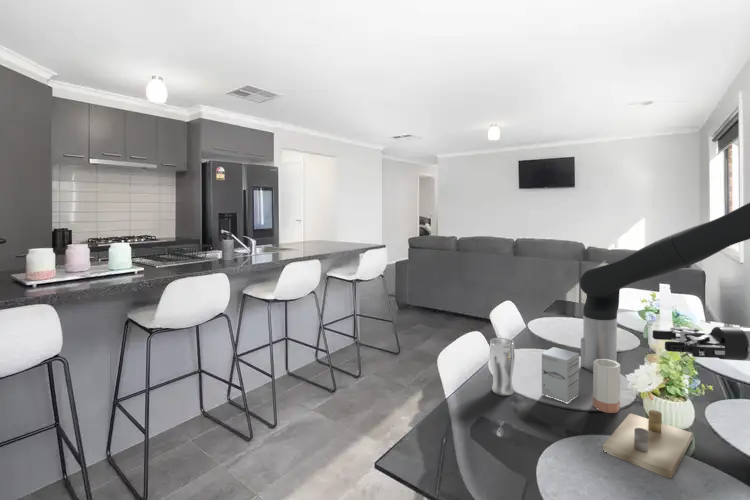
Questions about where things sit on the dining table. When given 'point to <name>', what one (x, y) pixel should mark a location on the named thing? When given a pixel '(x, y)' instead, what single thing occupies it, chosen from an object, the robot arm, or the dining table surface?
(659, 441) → the pin board
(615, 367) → the sleeve
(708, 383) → the dining table surface
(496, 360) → the beer glass
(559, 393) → the supplement box
